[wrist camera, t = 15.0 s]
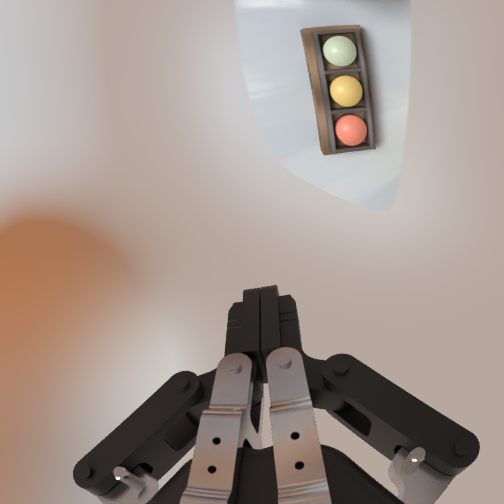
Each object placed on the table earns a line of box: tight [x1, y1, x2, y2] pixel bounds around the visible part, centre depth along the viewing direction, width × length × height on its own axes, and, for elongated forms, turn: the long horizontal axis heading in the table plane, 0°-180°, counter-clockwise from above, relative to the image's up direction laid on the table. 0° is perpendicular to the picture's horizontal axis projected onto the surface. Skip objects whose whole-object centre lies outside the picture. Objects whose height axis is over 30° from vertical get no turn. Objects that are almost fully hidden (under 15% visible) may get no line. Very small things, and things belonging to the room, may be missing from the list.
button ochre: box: [328, 75, 362, 107], centre depth 30 cm, size 3×3×2 cm
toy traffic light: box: [300, 25, 376, 155], centre depth 31 cm, size 15×6×4 cm, turn 12°
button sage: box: [322, 36, 356, 66], centre depth 28 cm, size 3×3×2 cm
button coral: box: [334, 114, 367, 146], centre depth 33 cm, size 3×3×2 cm
